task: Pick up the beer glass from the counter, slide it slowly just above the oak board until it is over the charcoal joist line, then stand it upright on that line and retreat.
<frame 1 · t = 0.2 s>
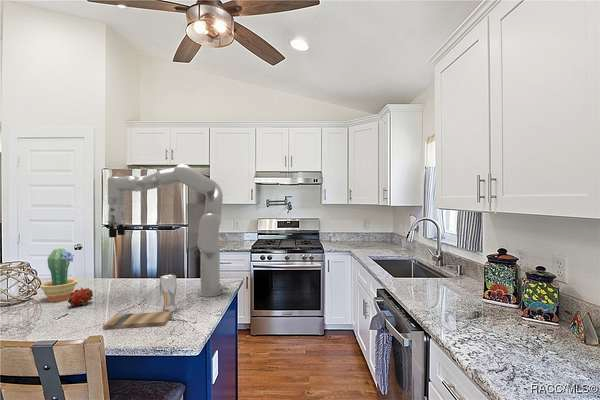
hand: (117, 236, 162), 31 cm above the countertop, tool pointing down, fingers open, 9 cm apart
potted cactus: (59, 299, 163), on the countertop
beer glass: (168, 310, 143), on the countertop
oak board: (139, 321, 130), on the countertop
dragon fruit: (80, 305, 152), on the countertop
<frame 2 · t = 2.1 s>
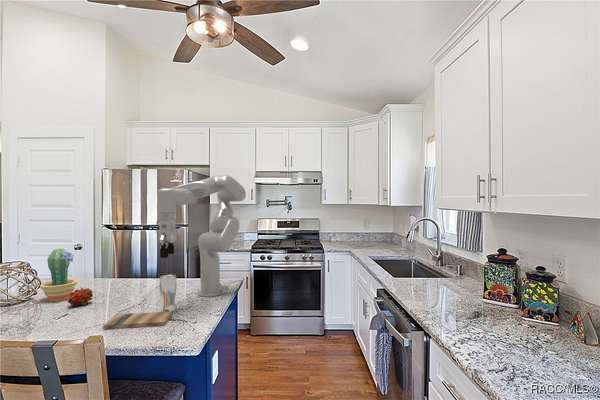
hand: (167, 255, 143), 24 cm above the countertop, tool pointing down, fingers open, 9 cm apart
nothing on the countertop moved.
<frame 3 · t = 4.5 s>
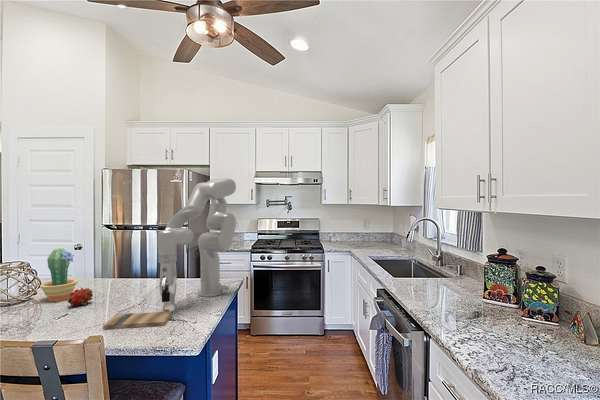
hand: (168, 298, 143), 5 cm above the countertop, tool pointing down, fingers closed on beer glass, 6 cm apart
beer glass: (168, 310, 143), on the countertop, touching gripper
everything else where it was.
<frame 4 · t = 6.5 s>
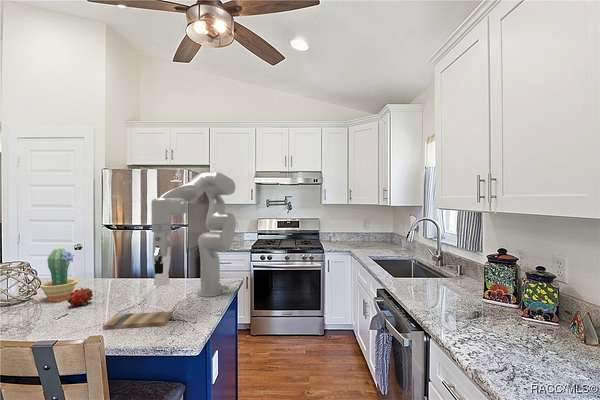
hand: (161, 271, 134), 19 cm above the countertop, tool pointing down, fingers closed on beer glass, 6 cm apart
beer glass: (161, 284, 134), point 14 cm above the countertop, touching gripper
everything else where it was.
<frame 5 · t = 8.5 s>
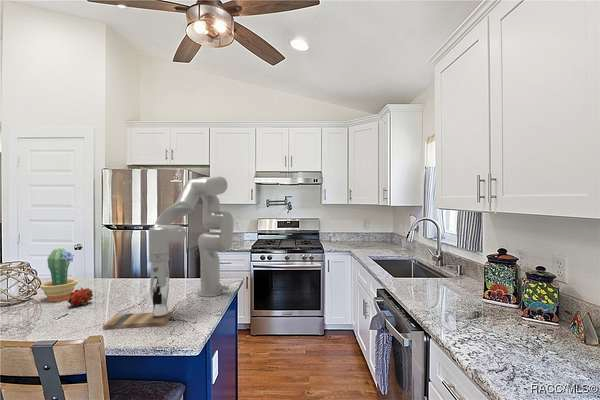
hand: (159, 301, 133), 8 cm above the countertop, tool pointing down, fingers closed on beer glass, 6 cm apart
beer glass: (160, 314, 133), point 2 cm above the countertop, touching gripper
everything else where it was.
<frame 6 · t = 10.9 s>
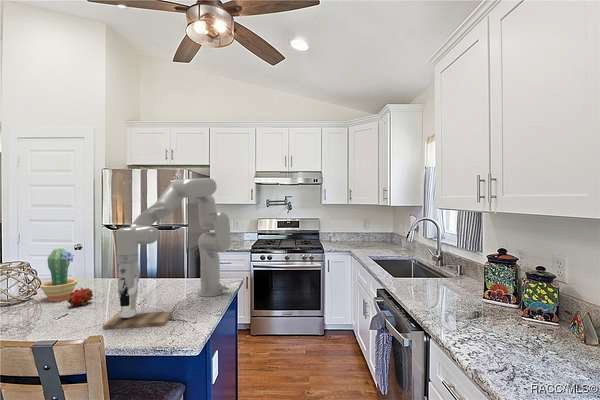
hand: (128, 302, 131), 8 cm above the countertop, tool pointing down, fingers closed on beer glass, 6 cm apart
beer glass: (128, 316, 131), point 2 cm above the countertop, touching gripper
everything else where it was.
when the fingers open (7 cm above the countertop, at t = 12.7 s): beer glass stays where it is, resting on oak board.
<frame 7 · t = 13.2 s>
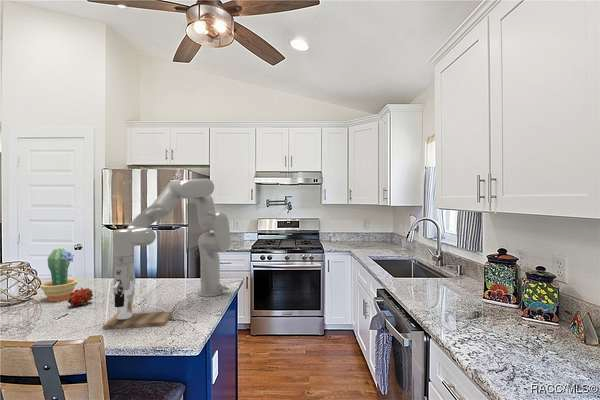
hand: (124, 302, 131), 8 cm above the countertop, tool pointing down, fingers open, 9 cm apart
beer glass: (125, 318, 131), point 1 cm above the countertop, touching oak board
everything else where it was.
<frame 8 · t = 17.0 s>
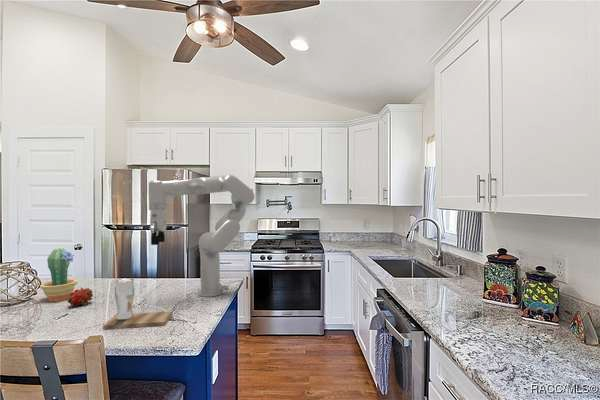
hand: (158, 243, 153), 28 cm above the countertop, tool pointing down, fingers open, 9 cm apart
nothing on the countertop moved.
at the end: beer glass 1.2 cm from the target spot on the oak board, point 1.4 cm above the oak board's base; beer glass tilted 0°; the gripper is holding nothing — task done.
